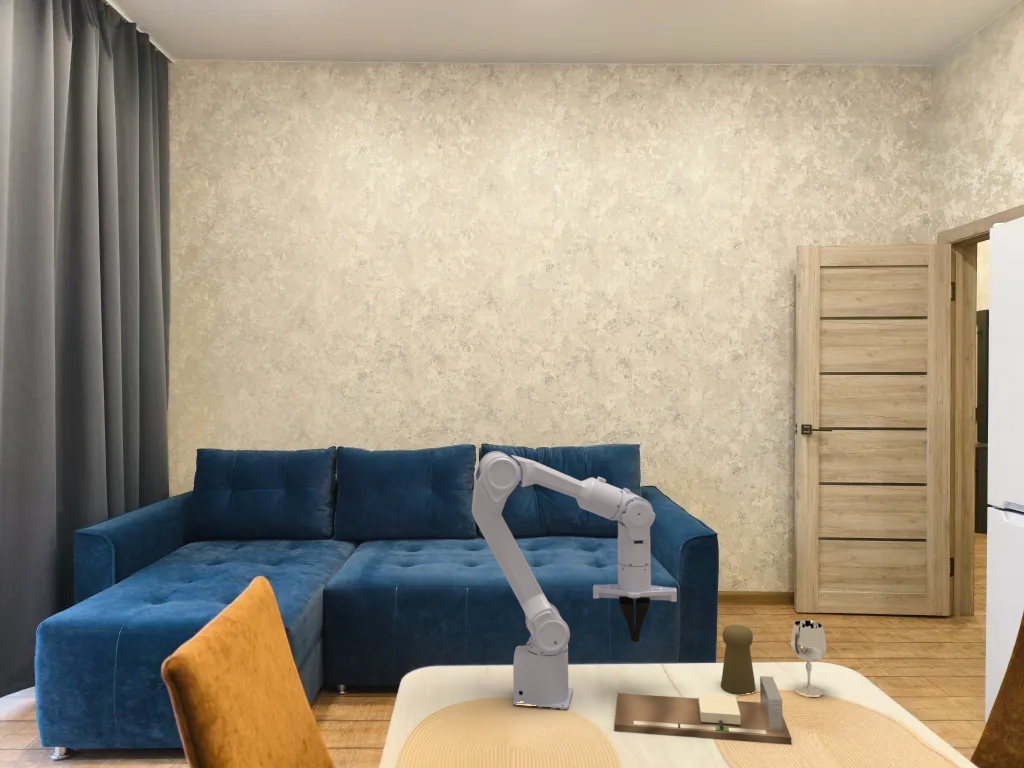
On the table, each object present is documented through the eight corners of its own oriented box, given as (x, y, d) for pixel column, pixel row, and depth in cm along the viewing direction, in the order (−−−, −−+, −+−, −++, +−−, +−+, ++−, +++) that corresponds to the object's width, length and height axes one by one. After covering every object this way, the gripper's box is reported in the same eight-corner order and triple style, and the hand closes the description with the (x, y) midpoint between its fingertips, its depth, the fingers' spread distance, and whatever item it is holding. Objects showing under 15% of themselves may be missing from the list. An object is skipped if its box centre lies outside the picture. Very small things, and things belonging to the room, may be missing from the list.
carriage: (701, 727, 114) (701, 717, 114) (698, 702, 123) (698, 693, 123) (742, 730, 113) (741, 720, 113) (735, 705, 122) (735, 696, 122)
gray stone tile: (768, 731, 113) (768, 698, 113) (760, 706, 122) (760, 676, 122) (782, 732, 113) (782, 699, 113) (773, 707, 122) (772, 676, 122)
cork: (758, 696, 128) (757, 633, 128) (722, 693, 129) (721, 631, 129) (753, 682, 134) (753, 622, 134) (719, 680, 135) (718, 620, 135)
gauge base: (614, 730, 116) (614, 723, 116) (617, 698, 128) (617, 692, 128) (791, 744, 111) (791, 736, 111) (777, 709, 123) (777, 702, 123)
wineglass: (786, 693, 129) (785, 624, 129) (799, 683, 134) (798, 617, 134) (819, 702, 125) (818, 632, 125) (831, 691, 130) (830, 623, 130)
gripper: (591, 567, 128) (592, 645, 128) (676, 569, 125) (677, 649, 125) (594, 557, 135) (595, 631, 134) (675, 560, 132) (676, 635, 132)
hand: (635, 639), depth 130 cm, fingers closed
